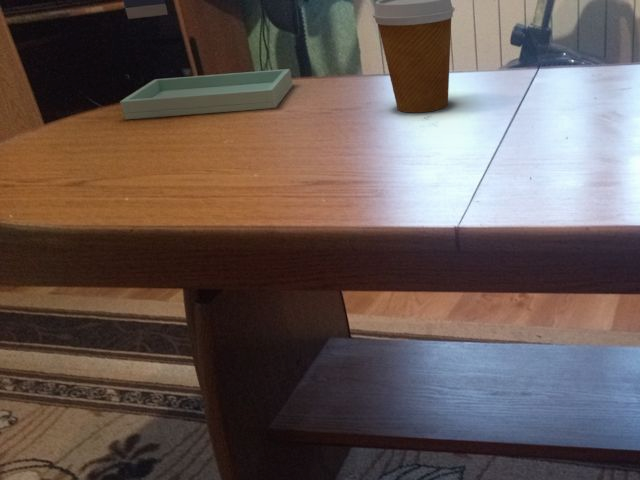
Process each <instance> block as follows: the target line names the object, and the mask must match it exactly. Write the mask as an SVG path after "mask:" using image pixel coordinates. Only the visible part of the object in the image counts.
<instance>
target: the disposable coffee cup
mask: <svg viewBox="0 0 640 480" xmlns="http://www.w3.org/2000/svg"><path fill="white" fill-rule="evenodd" d="M455 10H456V8H455V7H454V6H453V4H452V0H376V1H375V3H374V13H373V14H372V18H374V20H375V24H376V25H377V27H378V31H379V36H380V40H381V45H382V49H383V52H384V56H385V61H386V65H387V69H388V75H389V78H390V83H391V86H392V87H391V88H392V92H393V95H394V100H395V103H396V104H395V105H396V108H397V110H398V111H401V112H405V113H427V112H433V111H438V110H441V109H444V108H445V107H447V106H448V105H449V90H450V89H449V88H450V87H449V86H450V63H451V58H450V57H451V39H452V37H451V36H452V18H453V17H454V12H455Z"/></svg>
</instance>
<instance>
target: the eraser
mask: <svg viewBox="0 0 640 480" xmlns="http://www.w3.org/2000/svg"><path fill="white" fill-rule="evenodd" d="M122 3H123V6H124V8H125V13H126V16H127V19H128V20H130V19H131V20H133V19H140V18H149V17H158V16H165V15H166V16H167V15H168V10H167V9H168V8H167V5H166V2H165V0H122Z"/></svg>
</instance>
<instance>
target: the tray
mask: <svg viewBox="0 0 640 480" xmlns="http://www.w3.org/2000/svg"><path fill="white" fill-rule="evenodd" d="M293 86H294V83H293V78H292V73H291V69H290V68H285V69H272V70H271V69H269V70H257V71H246V72H233V73H231V72H230V73H219V74H205V75H194V76H193V75H192V76H180V77H168V78H167V77H166V78H156V79H153V80H151V81H150V82H148V83H146V84H145V85H143V86H142V87H140V88H139V89H137V90H136V91H134V92H133V93H131V94H129V95H128V96H126V97H124V98H123V99H122V100H120V101H119V104H120V107H121V110H122V113H123V116H124V119H125V120H138V119H151V118H152V119H154V118H164V117H165V118H167V117H176V116H177V117H179V116H189V115H203V114H204V115H205V114H216V113H218V114H219V113H228V112H229V113H231V112H242V111H254V110H255V111H257V110H268V109H276V108H277V107H278V106H279V104H280V103H281V102H282V100H284V98H285V96H286V95H287V94H288V93H289V91H290V90H291V89H292V87H293Z"/></svg>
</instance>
